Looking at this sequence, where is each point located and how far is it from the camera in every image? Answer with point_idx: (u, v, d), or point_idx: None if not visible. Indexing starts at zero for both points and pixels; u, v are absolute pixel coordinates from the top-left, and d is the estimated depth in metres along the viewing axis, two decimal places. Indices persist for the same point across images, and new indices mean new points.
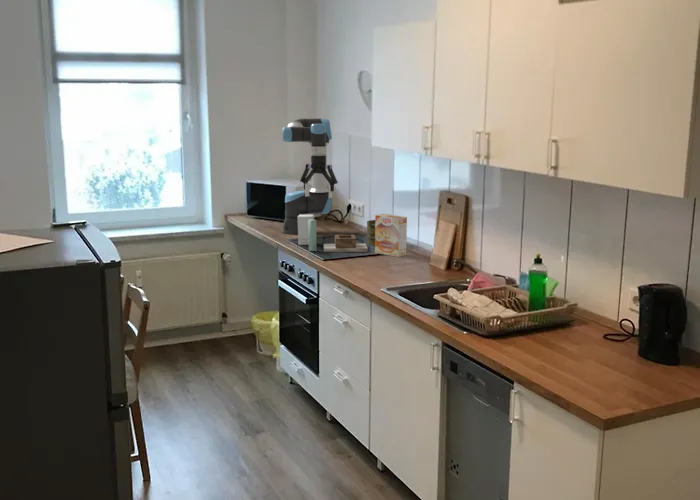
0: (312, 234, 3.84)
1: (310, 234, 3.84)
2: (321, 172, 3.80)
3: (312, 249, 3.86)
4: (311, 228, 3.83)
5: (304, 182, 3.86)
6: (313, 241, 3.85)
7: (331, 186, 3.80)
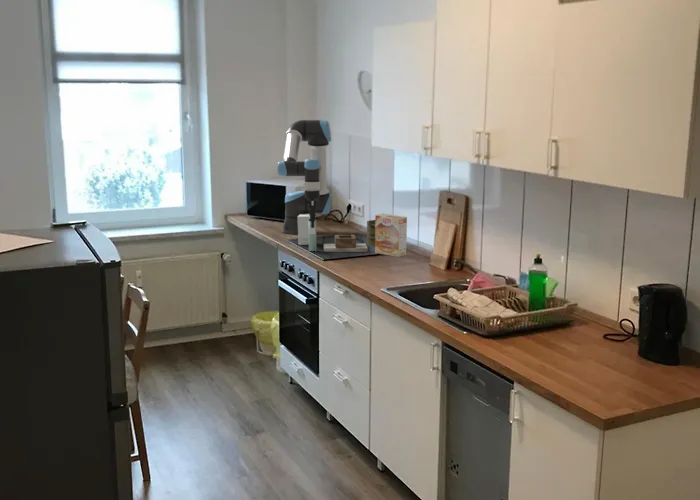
0: (312, 234, 3.84)
1: (310, 234, 3.84)
2: (308, 207, 3.80)
3: (312, 249, 3.86)
4: None
5: (309, 215, 3.91)
6: (313, 241, 3.85)
7: (311, 222, 3.77)
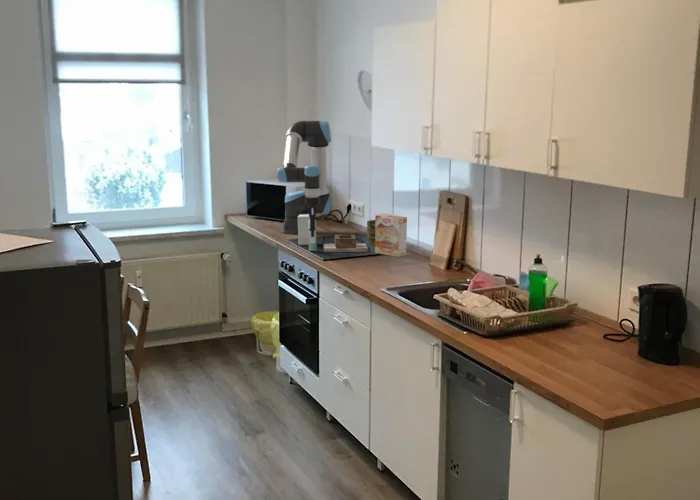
0: None
1: None
2: None
3: (312, 249, 3.86)
4: None
5: None
6: None
7: (311, 232, 3.82)
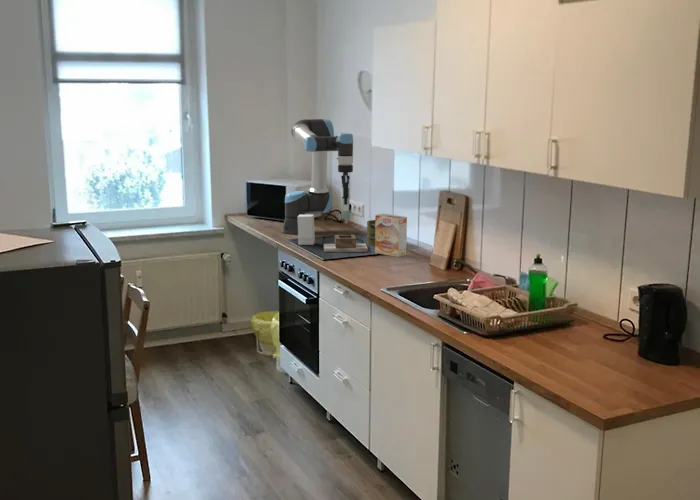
0: None
1: None
2: (342, 182, 3.84)
3: (345, 217, 3.87)
4: None
5: None
6: None
7: (344, 199, 3.84)
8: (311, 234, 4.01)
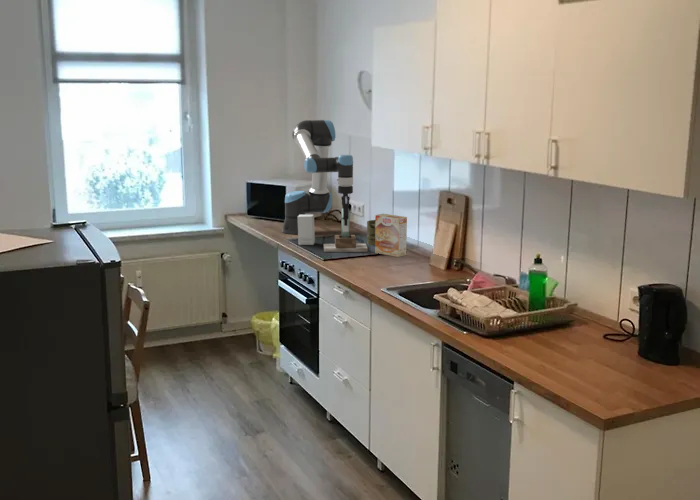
0: None
1: None
2: (342, 203, 3.86)
3: None
4: None
5: None
6: None
7: (344, 220, 3.86)
8: (311, 234, 4.01)
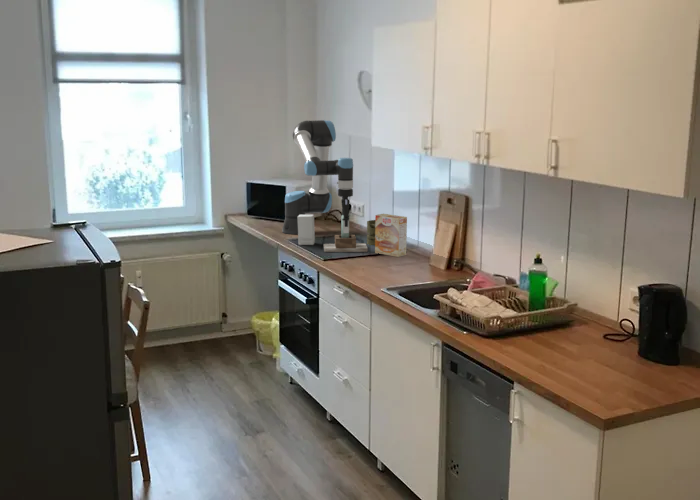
0: None
1: None
2: (342, 206, 3.86)
3: None
4: None
5: None
6: (346, 236, 3.90)
7: (344, 221, 3.83)
8: (311, 234, 4.01)
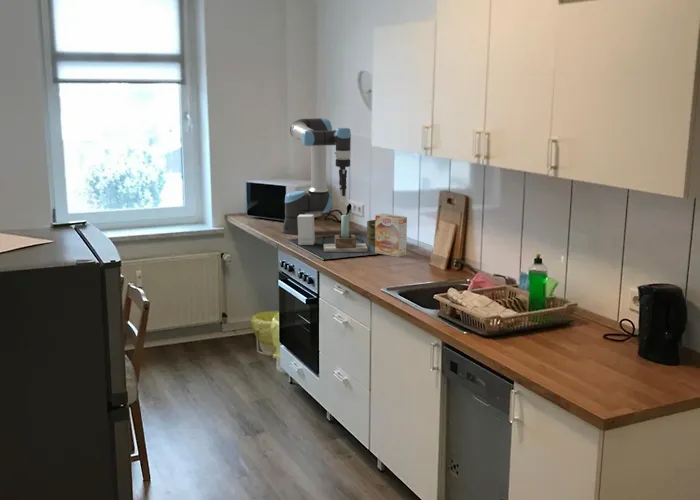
0: (345, 230, 3.89)
1: (343, 229, 3.89)
2: (339, 176, 3.85)
3: None
4: (344, 223, 3.88)
5: (339, 184, 3.96)
6: (346, 236, 3.90)
7: (342, 190, 3.82)
8: (311, 234, 4.01)
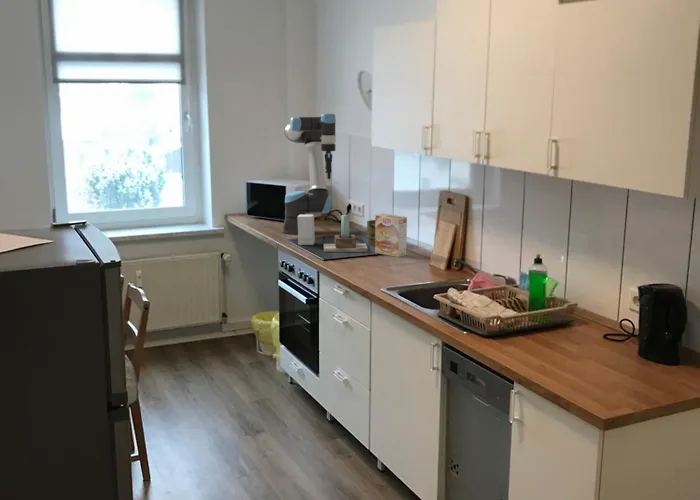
0: (345, 230, 3.89)
1: (343, 229, 3.89)
2: (325, 160, 3.99)
3: None
4: (344, 223, 3.88)
5: (325, 168, 4.10)
6: (346, 236, 3.90)
7: (327, 174, 3.96)
8: (311, 234, 4.01)
